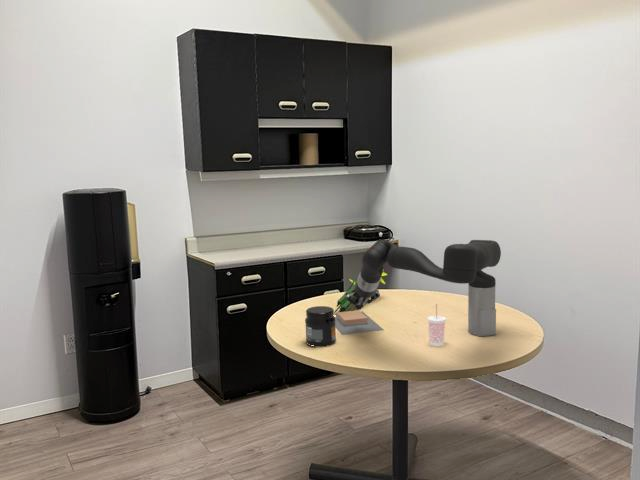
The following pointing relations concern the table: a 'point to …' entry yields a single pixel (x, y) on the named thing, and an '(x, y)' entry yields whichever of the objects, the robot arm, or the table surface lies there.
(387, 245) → the robot arm
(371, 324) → the felt mat
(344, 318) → the tile
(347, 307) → the daffodil flowers
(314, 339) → the supplement container
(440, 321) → the beverage cup
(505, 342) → the table surface
